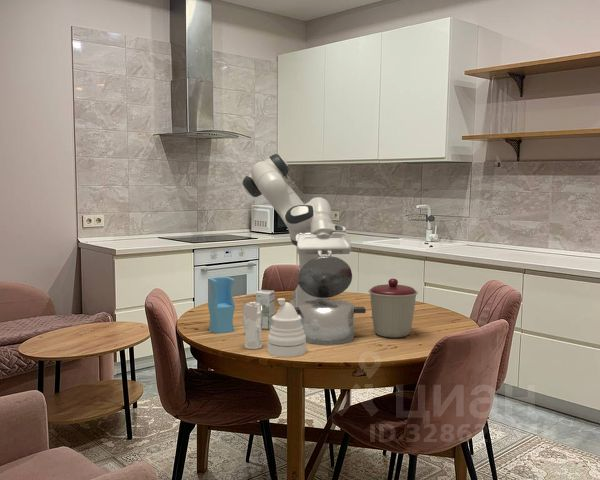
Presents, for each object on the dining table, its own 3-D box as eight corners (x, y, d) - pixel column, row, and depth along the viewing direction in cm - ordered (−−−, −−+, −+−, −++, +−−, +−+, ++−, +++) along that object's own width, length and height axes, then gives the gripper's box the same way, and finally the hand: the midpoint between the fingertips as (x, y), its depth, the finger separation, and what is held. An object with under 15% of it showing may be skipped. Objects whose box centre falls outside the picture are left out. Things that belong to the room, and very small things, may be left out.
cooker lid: (297, 298, 224) (296, 292, 226) (349, 297, 225) (348, 292, 227) (299, 258, 211) (298, 252, 214) (354, 257, 213) (353, 252, 215)
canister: (365, 328, 229) (366, 274, 227) (412, 328, 228) (413, 274, 226) (369, 340, 211) (370, 282, 209) (420, 341, 211) (422, 283, 208)
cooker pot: (286, 329, 226) (286, 298, 225) (358, 328, 228) (359, 298, 227) (289, 345, 205) (289, 311, 204) (369, 344, 207) (369, 310, 206)
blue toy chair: (215, 333, 220) (214, 280, 218) (208, 329, 227) (207, 277, 225) (235, 331, 224) (234, 279, 222) (227, 326, 231) (227, 276, 228)
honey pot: (275, 359, 189) (275, 303, 188) (262, 348, 201) (261, 296, 199) (312, 354, 194) (312, 300, 193) (296, 344, 206) (296, 293, 204)
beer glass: (243, 344, 206) (242, 302, 205) (263, 343, 207) (263, 301, 205) (243, 349, 199) (242, 306, 198) (263, 349, 200) (263, 305, 198)
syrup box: (275, 326, 231) (274, 290, 230) (269, 330, 226) (269, 292, 224) (261, 325, 233) (261, 289, 232) (255, 328, 228) (255, 291, 226)
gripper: (295, 227, 220) (297, 256, 212) (349, 227, 222) (353, 256, 213) (294, 238, 225) (296, 267, 216) (347, 237, 227) (351, 266, 218)
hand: (325, 261), depth 215 cm, fingers closed, pressing on cooker lid
